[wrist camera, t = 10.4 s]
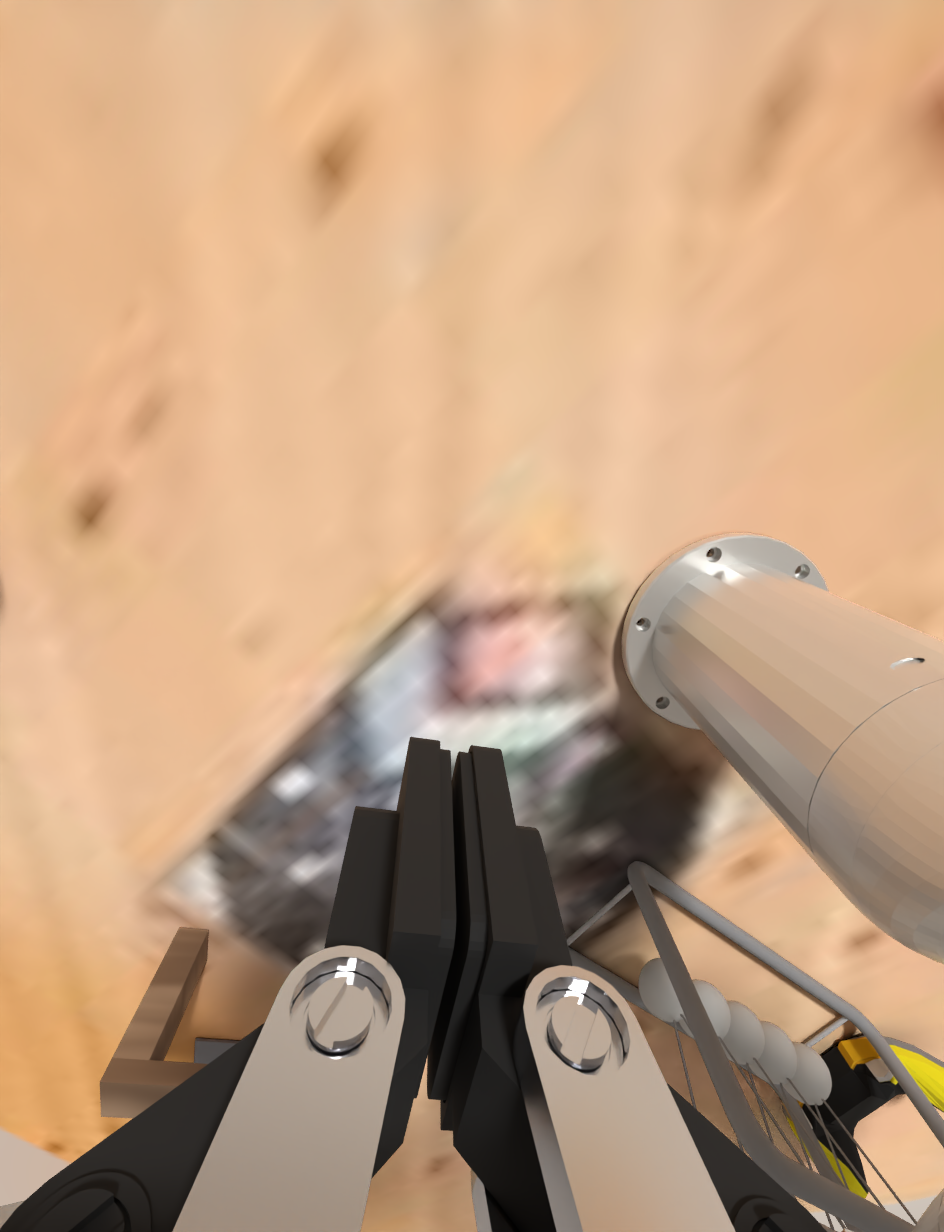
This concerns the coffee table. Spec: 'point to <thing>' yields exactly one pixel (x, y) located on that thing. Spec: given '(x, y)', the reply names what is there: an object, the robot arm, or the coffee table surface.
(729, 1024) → the newton's cradle
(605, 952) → the coffee table surface
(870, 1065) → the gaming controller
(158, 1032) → the bridge
